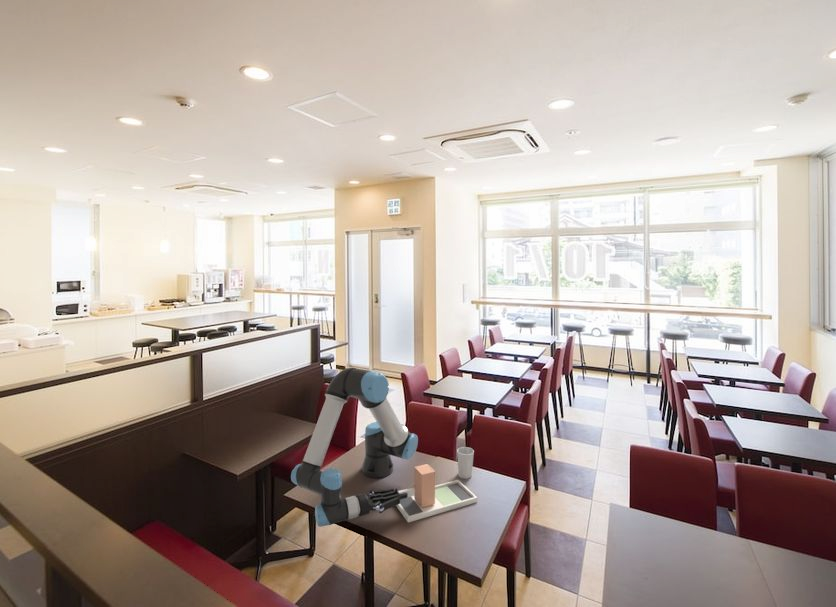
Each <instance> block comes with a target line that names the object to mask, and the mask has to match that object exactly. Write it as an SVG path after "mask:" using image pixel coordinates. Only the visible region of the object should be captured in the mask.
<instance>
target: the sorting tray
mask: <svg viewBox="0 0 836 607" xmlns="http://www.w3.org/2000/svg"><path fill="white" fill-rule="evenodd" d="M475 503H478V496H476V494H474V492H472V491H471V490H470V489H469V488H468V487H467V486H466V485H465V484H463V482H461V480H459V479H455V480H452V481H448V482H444V483H440V484H437V485H436V484H435V504H433V505H429V506H426V507H421V506H420V505H419V504H418V502H417V501H416V500H415V499H414V496H411V497H407V498H404V499H401V500H400V504H398V505H396V508H397V509H398V511H399V512H400V513H401V515H402V516H403V518H404V520H406V522H407V523H411V522H415V521H417V520H421V519H425V518H429V517H431V516H435V515H438V514H442V513H446V512H448V511H452V510H455V509H458V508H461V507H464V506H468V505H471V504H472V505H473V504H475Z"/></svg>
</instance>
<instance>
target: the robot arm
mask: <svg viewBox="0 0 836 607" xmlns="http://www.w3.org/2000/svg"><path fill="white" fill-rule="evenodd" d="M389 390H390V388H389V380H388V378H387V376H385V374H383V373H382V372H378V371H375V370H369V369H368V370H367V369H361V368H357V367H356V368H355V367H346V368H344V369H342V370H341V371H339V372H338V373H337V374H336V375H335V376H334V377H333V378H332V380H330V383H329V384H328V386H327V388H326V390H325V393H324V396H325V401H324V403H323V406H322V408H321V410H320V414H319V415H318V420H317V423H316V425H315V427H314V430H313V433H312V436H311V437H310V440H309V443H308V446H307V449H306V451H305V454H304V456H303V459H302V461H301V463H299V464H296V466H295V467H294V468H292V471H291V473H290V479H291V483H293V484H294V485H295V486H298V487H299V488H303V489H305V490H307V491H310V492H313V493H315V494H317V495H320V503H319V504H316V505H315V507H314V508H315V510H314V516H315V517H314V518H315V523H316V525H317V526H318V527H321V528H322V527H325V526H331V525H334V524H338V523H340V522H341V523H342V522H343V521H348V520H352V519H355V518H358V517H363V516H366V515H369V513H370V512H372V511H378V512H379V514H382V513H384V512H385V511H386V510H389V509H391V508H394V507H395V506H396V505H398V504H400V500H401V499H404V498H407V497H411V496H414V487H409V488H405V489H404V488H403V489H401V490H398V488H395V489H394V488H386V489H385V488H384V489H375V490H374V489H369V493H368V494H366V493H365V492H364V493H359V494H357V495H351V496H349V497H348V496H347V497H344V498H343V495H342V494H343V481H342V473H341V470H339V469H338V468H327V469H324V470H323V471H321V468H322V466H323V463H324V459H325V457H326V454H327V452H328V448H329V446H330V443H331V440H332V437H333V435H334V433H335V432H334V431H335V429H336V427H337V423H338V421H339V418H340V416H341V412H342V410H343V406H344V404H346V403H348V401H349V398H350V397H351V398H355V399H358V401H359V402H360V404H361V406H362V407H363V408H365V409H368V410H369V411H370V413H371V415H372V417H373V418H374V419H375V421H374V422H370V423H369V424H367V425H366V427H365V429H364V430H365V432H364V442H365V443H364V444H365V454H364V458H363V461H362V465H361V473H362V475H364V476H366V477H368V478H372V479H375V478H376V479H379V478H385V477H387V476H389V475H390V474H393V471H394V463H393V460H392V457H391V456H394V457H396V458H398V459H399V458H400V459H402V460H410V459H411V458H413V457H414V456H415V453H416V451H417V448H418V445H419V444H418V443H419V438H418V435H417V434H415V433H411V432H410V431H409V429H408V427H407V426H406V425H405V424H402V423H401V421H400V420H399V418H398V416H397V414H396V413H395V411H394V409H393V407H392V406H391V404H390V402H389V400H388V398H387V397H388V394H389ZM396 507H397V506H396Z"/></svg>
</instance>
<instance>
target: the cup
mask: <svg viewBox="0 0 836 607" xmlns="http://www.w3.org/2000/svg"><path fill="white" fill-rule="evenodd" d="M456 454H457V455H456V456H457V470H458V474H457V475H458V477H460V478H461V479H470V478H471V477H472V476H473V475H472V474H473V465H474V457H475V456H474V455H475V450H474V449H473V448H472V447H467V446H462V447H458V448H457V449H456Z"/></svg>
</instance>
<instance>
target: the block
mask: <svg viewBox="0 0 836 607" xmlns="http://www.w3.org/2000/svg"><path fill="white" fill-rule="evenodd" d="M413 480H414V482H413V483H414V487H413V488H414V499H415V500H416V501H417V502H418V504H419V505H420V506H421V507H426V506H429V505H433V504H435V486H436V470H434V469H433V468H432V467H431V466H430V465H429V464H428V463H426V464H421V465H417V466H414V479H413Z"/></svg>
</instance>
